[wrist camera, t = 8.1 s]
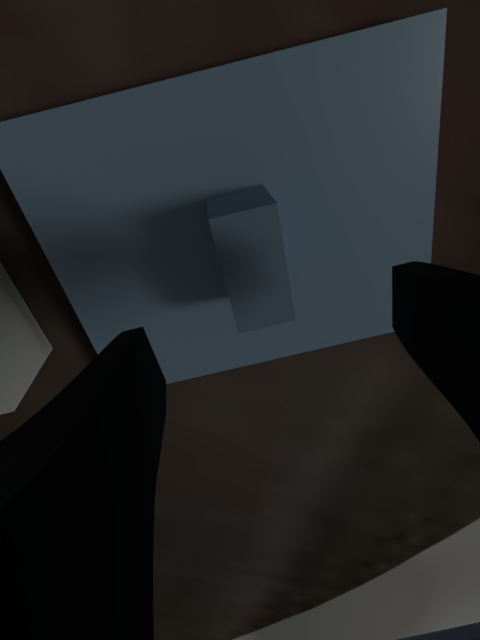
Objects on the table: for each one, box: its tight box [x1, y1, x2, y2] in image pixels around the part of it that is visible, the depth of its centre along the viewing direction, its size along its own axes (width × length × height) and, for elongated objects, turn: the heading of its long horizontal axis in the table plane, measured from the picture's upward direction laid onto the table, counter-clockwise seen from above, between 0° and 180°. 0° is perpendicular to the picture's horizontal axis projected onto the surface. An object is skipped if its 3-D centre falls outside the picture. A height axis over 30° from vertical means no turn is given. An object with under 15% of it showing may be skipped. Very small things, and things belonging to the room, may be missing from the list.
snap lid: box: [0, 8, 447, 384], centre depth 17 cm, size 14×18×6 cm
